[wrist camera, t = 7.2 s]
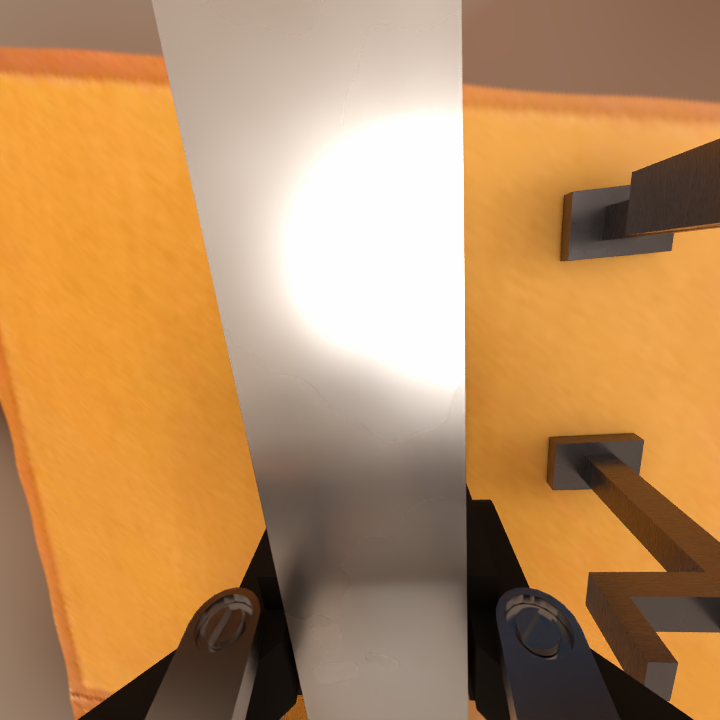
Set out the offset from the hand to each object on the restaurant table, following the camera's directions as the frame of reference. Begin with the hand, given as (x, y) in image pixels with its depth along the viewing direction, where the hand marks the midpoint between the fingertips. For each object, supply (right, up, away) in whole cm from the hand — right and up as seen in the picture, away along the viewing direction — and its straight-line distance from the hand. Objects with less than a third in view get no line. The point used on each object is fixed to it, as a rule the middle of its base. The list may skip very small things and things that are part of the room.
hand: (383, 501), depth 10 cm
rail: (0, 0, -1) cm, 1 cm away
